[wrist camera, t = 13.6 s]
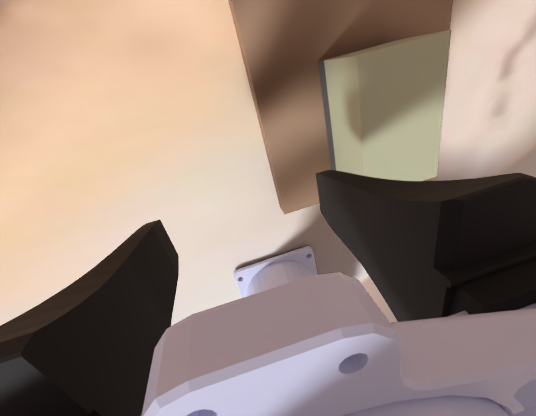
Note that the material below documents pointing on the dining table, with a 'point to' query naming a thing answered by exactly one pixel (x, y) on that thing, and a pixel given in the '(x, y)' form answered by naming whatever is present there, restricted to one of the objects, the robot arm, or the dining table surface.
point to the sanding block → (387, 107)
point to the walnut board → (313, 71)
